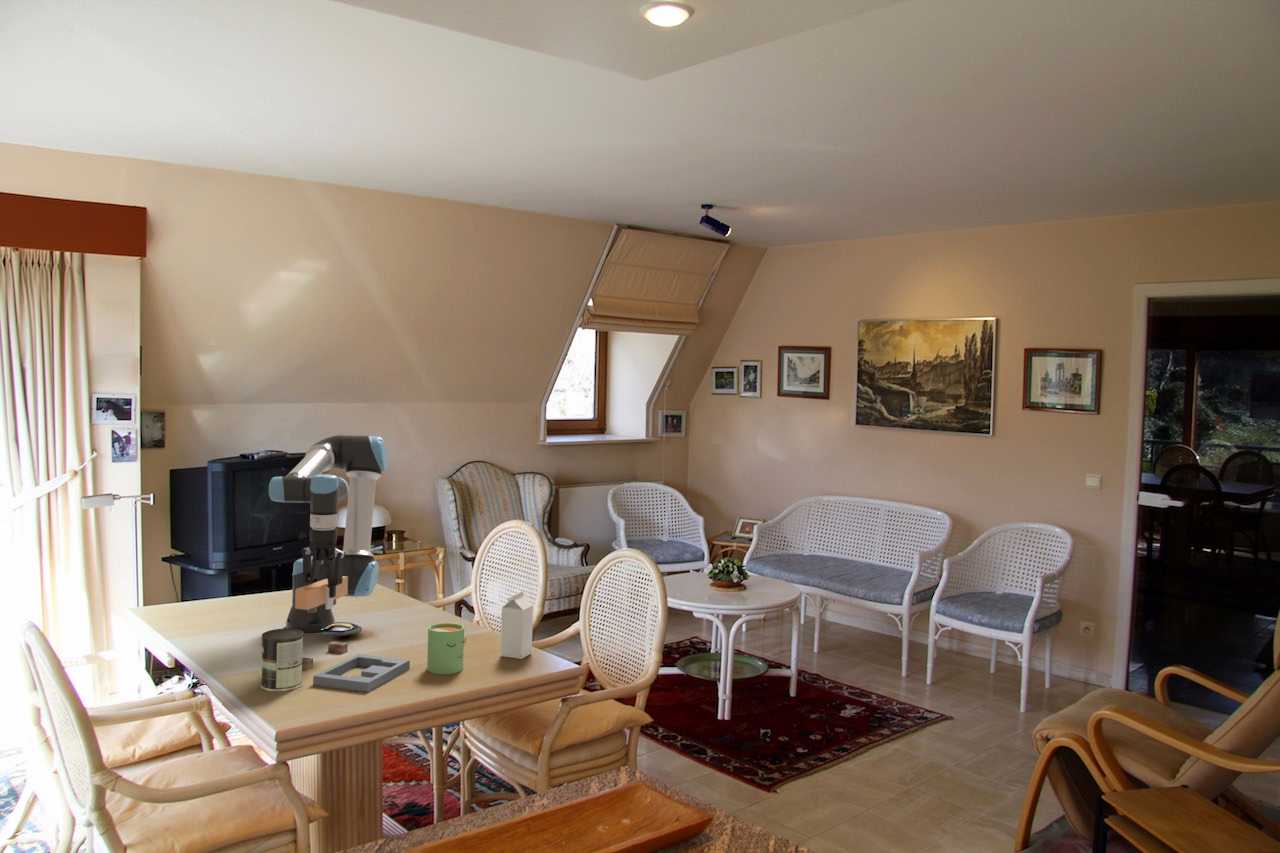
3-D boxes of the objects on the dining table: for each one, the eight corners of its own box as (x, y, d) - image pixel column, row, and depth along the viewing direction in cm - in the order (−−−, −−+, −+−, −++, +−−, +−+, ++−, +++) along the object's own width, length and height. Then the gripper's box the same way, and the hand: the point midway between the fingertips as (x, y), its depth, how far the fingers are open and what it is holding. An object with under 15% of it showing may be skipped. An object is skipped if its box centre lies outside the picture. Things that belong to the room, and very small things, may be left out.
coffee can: (255, 691, 242) (256, 638, 241) (267, 679, 252) (268, 628, 252) (296, 692, 243) (297, 638, 242) (306, 679, 253) (308, 628, 252)
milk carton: (531, 653, 285) (533, 592, 285) (521, 659, 279) (523, 596, 278) (511, 650, 288) (512, 589, 287) (500, 656, 281) (502, 594, 280)
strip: (295, 615, 263) (295, 589, 262) (335, 599, 282) (336, 575, 282) (307, 616, 262) (307, 590, 261) (347, 601, 281) (347, 576, 281)
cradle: (292, 667, 263) (292, 659, 263) (332, 649, 282) (333, 641, 282) (307, 669, 262) (307, 660, 262) (347, 651, 281) (347, 643, 281)
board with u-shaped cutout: (313, 685, 249) (313, 675, 249) (358, 662, 270) (358, 654, 270) (368, 692, 245) (368, 682, 244) (409, 668, 266) (409, 660, 266)
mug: (446, 676, 260) (447, 634, 260) (419, 669, 266) (420, 627, 265) (477, 666, 271) (478, 625, 270) (450, 659, 276) (451, 619, 276)
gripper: (290, 527, 269) (288, 607, 270) (342, 532, 265) (340, 613, 266) (305, 524, 276) (304, 601, 278) (356, 528, 272) (355, 607, 273)
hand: (322, 607), depth 272 cm, fingers closed on strip, 4 cm apart
